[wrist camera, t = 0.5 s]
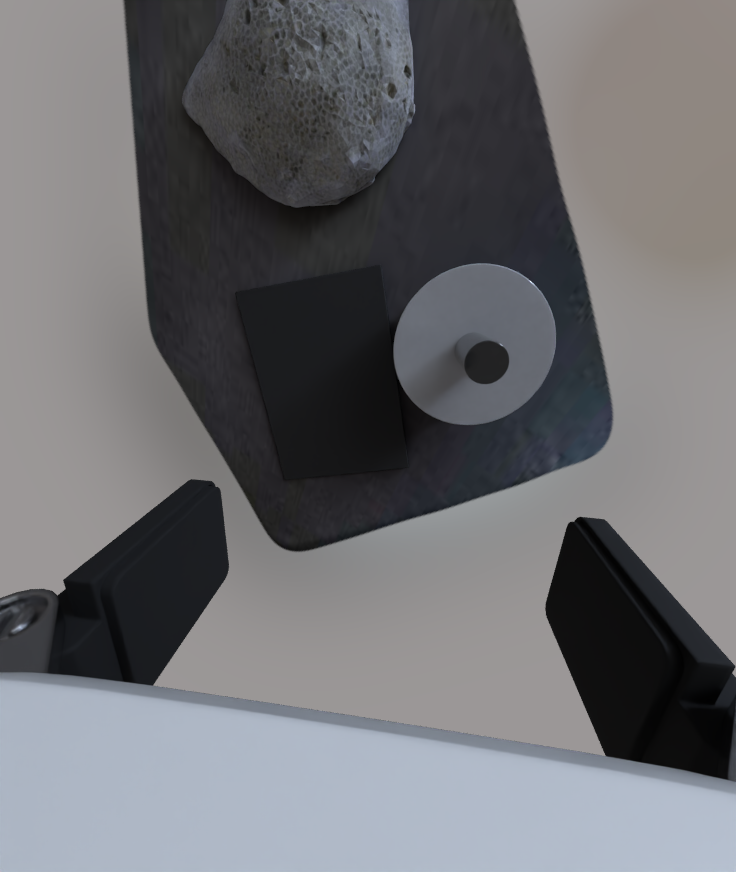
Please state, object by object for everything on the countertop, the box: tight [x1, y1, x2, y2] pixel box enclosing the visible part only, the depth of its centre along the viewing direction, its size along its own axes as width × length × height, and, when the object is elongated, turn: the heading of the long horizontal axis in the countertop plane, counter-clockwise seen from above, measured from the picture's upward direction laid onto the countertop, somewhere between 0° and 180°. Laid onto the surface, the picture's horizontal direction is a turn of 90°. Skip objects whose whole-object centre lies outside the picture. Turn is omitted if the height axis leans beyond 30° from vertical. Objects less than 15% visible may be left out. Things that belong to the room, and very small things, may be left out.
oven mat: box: [235, 265, 409, 480], centre depth 37 cm, size 20×14×1 cm
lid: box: [393, 264, 556, 425], centre depth 25 cm, size 12×12×7 cm
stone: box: [182, 0, 415, 208], centre depth 27 cm, size 18×8×15 cm
